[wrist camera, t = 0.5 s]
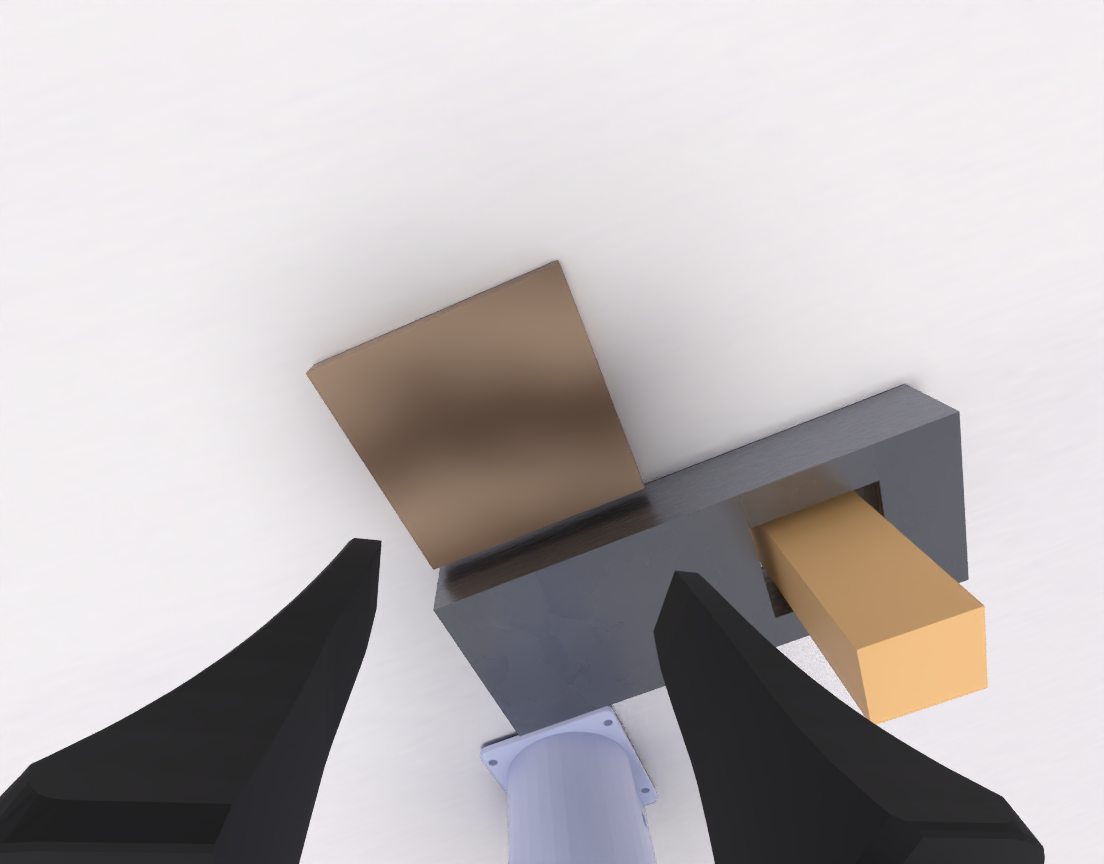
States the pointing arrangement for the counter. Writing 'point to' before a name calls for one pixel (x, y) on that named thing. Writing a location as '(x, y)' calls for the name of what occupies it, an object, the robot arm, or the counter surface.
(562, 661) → the grey slotted block
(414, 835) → the counter surface
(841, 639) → the peg
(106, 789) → the robot arm
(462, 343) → the board
